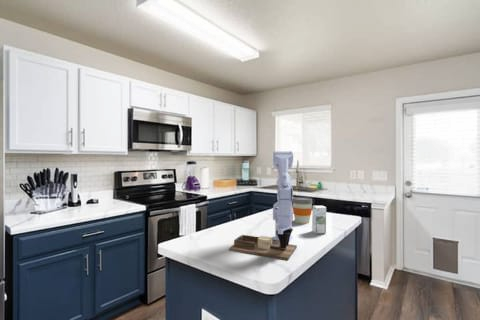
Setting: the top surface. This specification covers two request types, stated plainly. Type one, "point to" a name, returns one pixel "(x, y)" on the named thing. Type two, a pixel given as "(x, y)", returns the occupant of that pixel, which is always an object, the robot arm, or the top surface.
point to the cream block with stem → (267, 243)
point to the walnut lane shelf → (251, 246)
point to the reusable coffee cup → (302, 209)
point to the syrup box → (319, 220)
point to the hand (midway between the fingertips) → (284, 246)
